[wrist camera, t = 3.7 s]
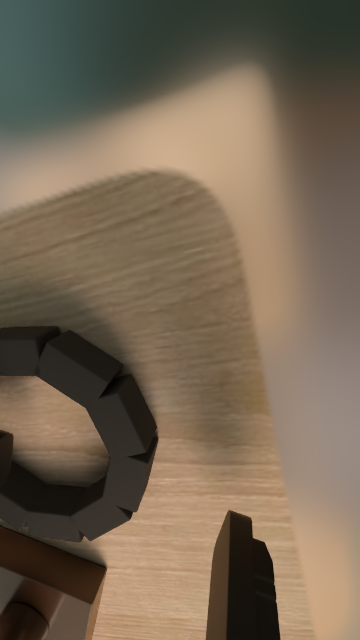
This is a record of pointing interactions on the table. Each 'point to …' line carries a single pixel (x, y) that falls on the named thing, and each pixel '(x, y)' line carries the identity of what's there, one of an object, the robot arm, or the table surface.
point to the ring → (109, 419)
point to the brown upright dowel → (46, 591)
